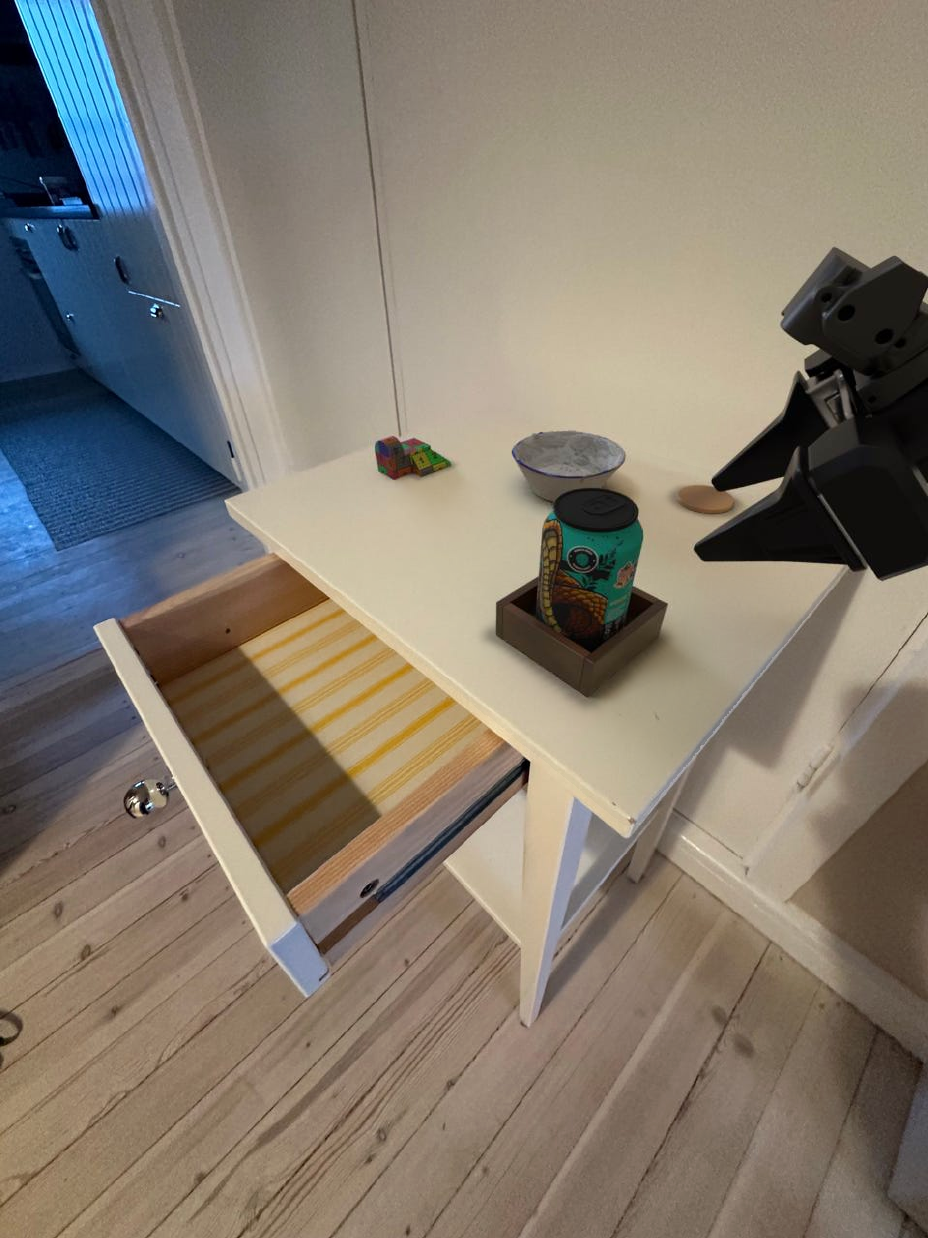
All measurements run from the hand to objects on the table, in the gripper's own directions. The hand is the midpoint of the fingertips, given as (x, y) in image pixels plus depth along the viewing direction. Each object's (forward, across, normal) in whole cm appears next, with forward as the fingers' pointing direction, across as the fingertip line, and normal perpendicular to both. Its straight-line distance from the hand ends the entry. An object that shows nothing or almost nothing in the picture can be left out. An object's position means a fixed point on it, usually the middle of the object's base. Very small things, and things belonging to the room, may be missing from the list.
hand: (706, 516), depth 33 cm
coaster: (+9, -28, +9) cm, 31 cm away
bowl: (+20, -25, -2) cm, 33 cm away
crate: (+14, 0, +4) cm, 14 cm away
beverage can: (+14, 0, +4) cm, 15 cm away
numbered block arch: (+34, -23, -16) cm, 45 cm away
